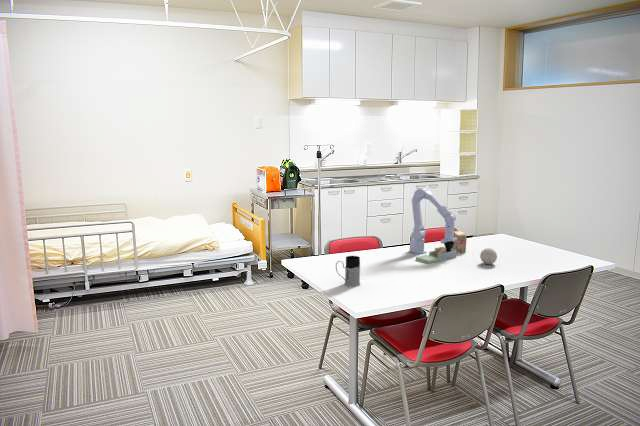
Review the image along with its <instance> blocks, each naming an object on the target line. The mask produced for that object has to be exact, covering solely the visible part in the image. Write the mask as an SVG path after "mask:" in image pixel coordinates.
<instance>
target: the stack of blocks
mask: <svg viewBox="0 0 640 426" xmlns="http://www.w3.org/2000/svg"><path fill="white" fill-rule="evenodd" d="M467 236H468V235H467V234H466V233H465V232H463V231H459V230H458V231H455V230H454V238H455V237H456V238H458V240H457V241H453V242H454V245H453V247H452V250H453V251H455V250H456V253H467V252H466V250H467Z"/></svg>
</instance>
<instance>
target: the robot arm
mask: <svg viewBox="0 0 640 426" xmlns="http://www.w3.org/2000/svg"><path fill="white" fill-rule="evenodd" d="M423 199H424V200H429V202H431V204H433V206H434V207H435V208H437V209H436V211H437V212H438V214H440V216H441V217H442V218H443V220H444V222H445V225H444V226H445V227H444V229H445V230H444V238H443V239H441V240H440V241H439V242H440V244H443V245H444V248H446V252H450V251H452V250H453V248H452V247H453V245H454V242H453V241H457V240H458V238H456V237H455V238H454V231H455V222H456V219H457V218H456V215H455V214H454V213H453V212H452V211H450V210H449V209H448V206H447V205H445V204H444V205H443V204H441V203H440V202H439V200H438V199H437V198H436V196H434V194H433V192H431V190H429V188H427V187H426V186H423V187H421V188H417V189H416V190H415V191H414V193H413V196H412V198H411V206H412V207H411V208H412V214H413V215H412V216H413V224H414V226H413V228H412V229H413V230H412V231H413V232H412V238H411V239H410V242H409V250H408V252H410V253H413V254H418V255H422V254H425V253H427V251H425V237H426V236H427V231H426V230H425V227H424V225H423V218H422V211H421V210H422V209H421V201H422V200H423Z"/></svg>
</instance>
